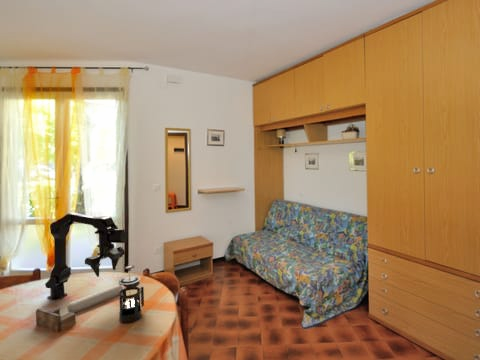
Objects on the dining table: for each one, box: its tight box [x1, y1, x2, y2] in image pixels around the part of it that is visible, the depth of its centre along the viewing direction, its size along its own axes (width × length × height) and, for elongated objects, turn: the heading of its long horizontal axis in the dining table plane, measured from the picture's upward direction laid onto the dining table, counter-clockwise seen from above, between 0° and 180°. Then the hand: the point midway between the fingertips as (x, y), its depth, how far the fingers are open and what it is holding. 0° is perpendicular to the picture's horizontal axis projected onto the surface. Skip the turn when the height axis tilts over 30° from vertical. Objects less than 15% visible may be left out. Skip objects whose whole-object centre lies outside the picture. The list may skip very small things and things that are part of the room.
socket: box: [35, 307, 77, 333], centre depth 113 cm, size 14×8×7 cm, turn 67°
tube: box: [66, 283, 124, 314], centre depth 131 cm, size 5×5×25 cm
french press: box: [118, 264, 145, 325], centre depth 117 cm, size 12×9×23 cm
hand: (106, 273), depth 133 cm, fingers open, 9 cm apart
